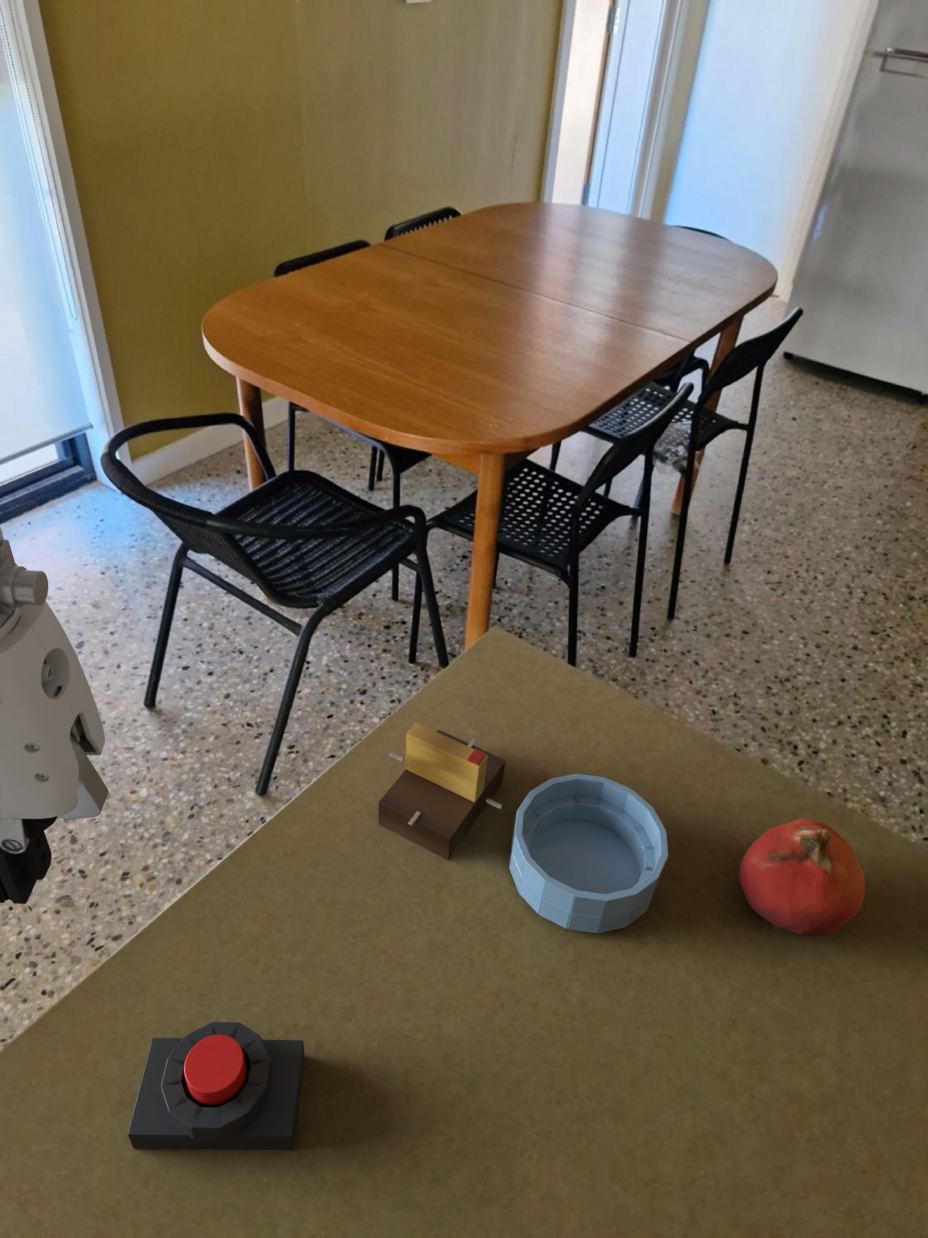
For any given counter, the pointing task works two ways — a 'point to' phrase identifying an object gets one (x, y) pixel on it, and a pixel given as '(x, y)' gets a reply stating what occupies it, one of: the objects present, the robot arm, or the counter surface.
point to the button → (215, 1069)
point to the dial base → (436, 806)
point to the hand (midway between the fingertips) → (21, 878)
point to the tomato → (803, 878)
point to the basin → (587, 853)
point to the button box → (237, 1124)
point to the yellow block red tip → (446, 762)
